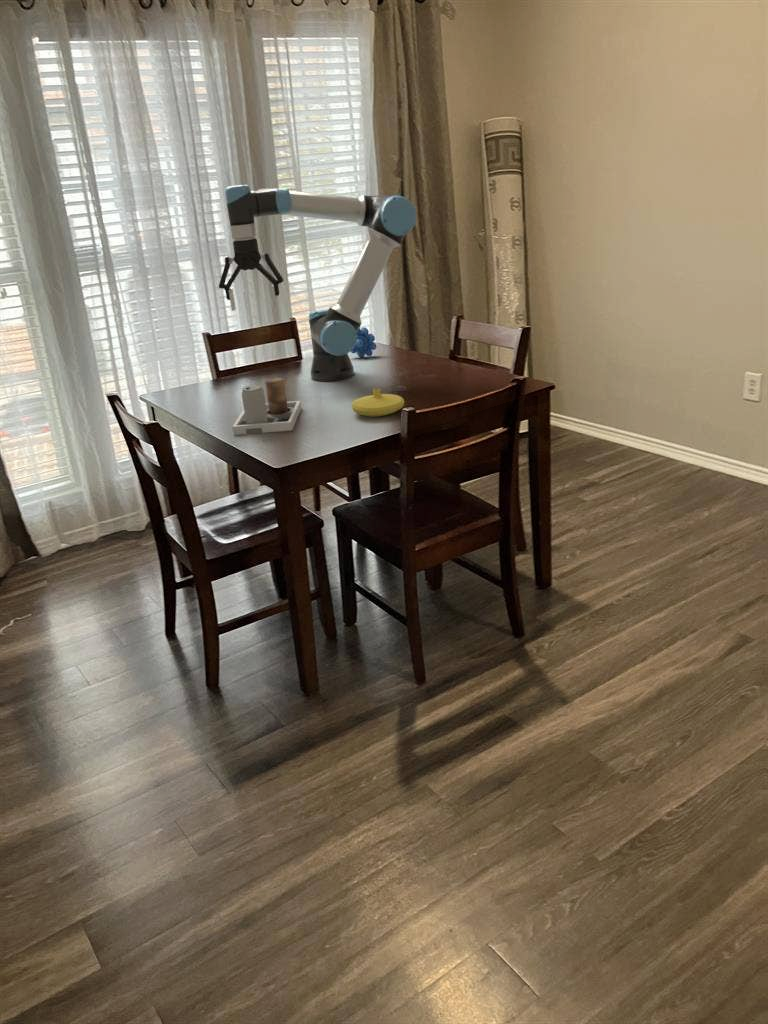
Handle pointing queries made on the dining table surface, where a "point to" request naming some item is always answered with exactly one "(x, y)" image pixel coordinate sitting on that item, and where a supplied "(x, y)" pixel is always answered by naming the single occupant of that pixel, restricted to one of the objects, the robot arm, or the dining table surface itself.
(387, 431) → the dining table surface
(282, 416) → the white tray
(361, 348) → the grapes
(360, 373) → the dining table surface
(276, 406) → the brown cylinder
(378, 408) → the yellow lid
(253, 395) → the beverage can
